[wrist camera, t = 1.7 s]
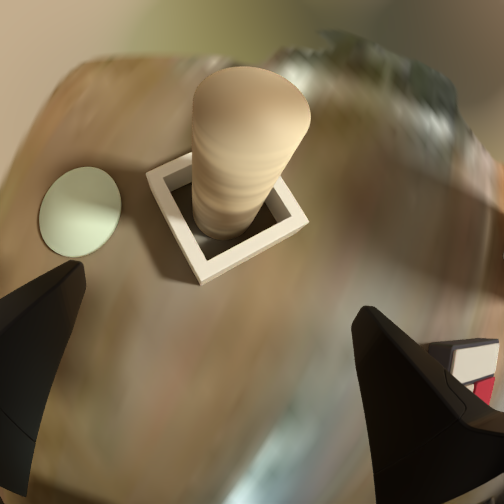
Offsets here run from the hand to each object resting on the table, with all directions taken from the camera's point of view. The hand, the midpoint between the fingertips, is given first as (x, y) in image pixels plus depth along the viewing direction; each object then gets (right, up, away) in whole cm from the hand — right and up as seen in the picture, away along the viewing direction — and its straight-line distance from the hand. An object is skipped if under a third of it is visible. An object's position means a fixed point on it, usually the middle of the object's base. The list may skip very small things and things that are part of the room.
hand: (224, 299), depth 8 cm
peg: (-2, +5, +15) cm, 16 cm away
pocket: (-2, +5, +15) cm, 16 cm away
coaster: (-14, +5, +12) cm, 19 cm away
